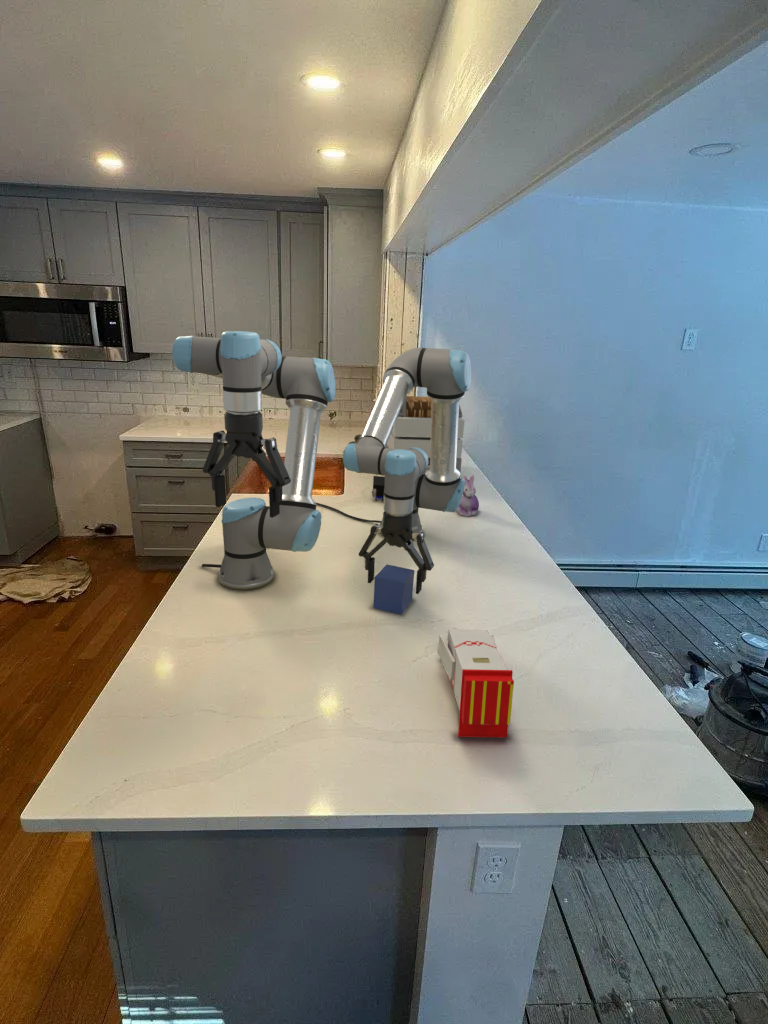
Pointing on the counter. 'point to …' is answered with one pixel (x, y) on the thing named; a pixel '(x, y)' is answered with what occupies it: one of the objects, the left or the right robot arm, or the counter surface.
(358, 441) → the fossil
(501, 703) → the toy
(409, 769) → the counter surface
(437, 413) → the right robot arm
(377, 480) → the figurine character
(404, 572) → the block
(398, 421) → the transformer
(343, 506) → the counter surface
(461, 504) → the figurine
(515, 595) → the counter surface
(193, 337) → the left robot arm
